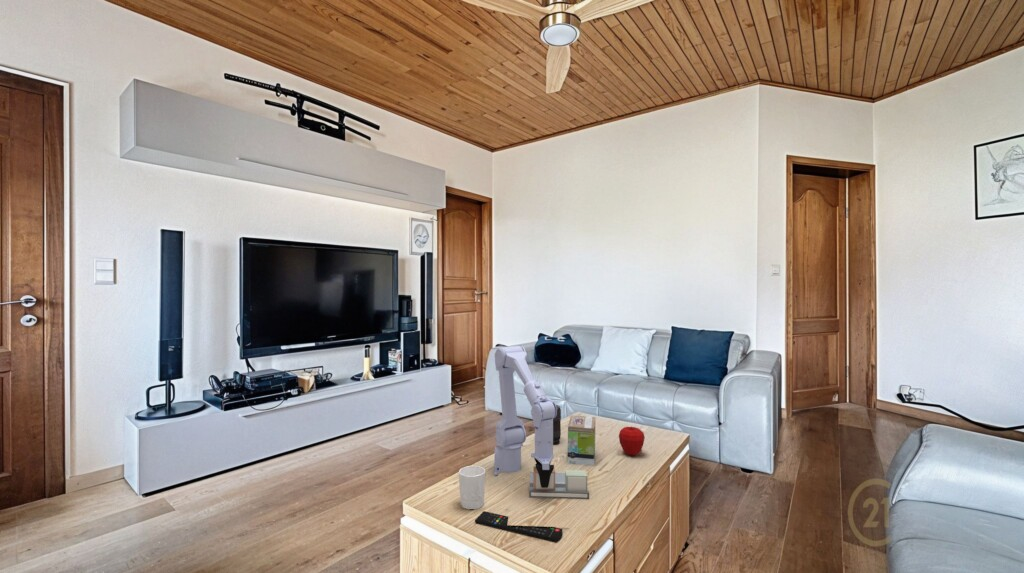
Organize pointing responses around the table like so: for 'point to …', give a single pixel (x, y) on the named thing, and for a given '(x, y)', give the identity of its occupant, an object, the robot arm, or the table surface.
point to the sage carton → (575, 480)
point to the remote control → (519, 527)
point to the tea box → (581, 440)
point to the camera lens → (557, 426)
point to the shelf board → (557, 490)
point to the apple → (631, 440)
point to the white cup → (472, 486)
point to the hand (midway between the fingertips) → (543, 483)
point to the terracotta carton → (537, 481)
